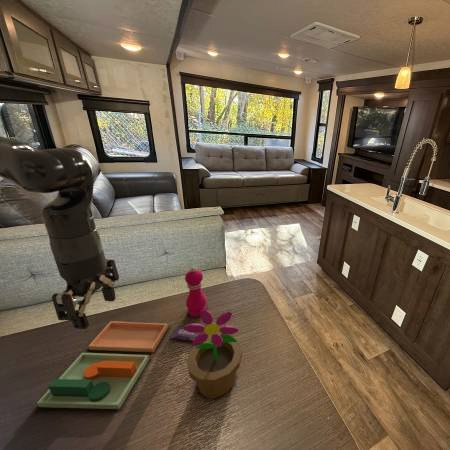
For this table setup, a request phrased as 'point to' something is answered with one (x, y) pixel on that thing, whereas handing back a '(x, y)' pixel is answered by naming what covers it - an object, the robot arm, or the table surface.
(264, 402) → the table surface
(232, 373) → the flowerpot
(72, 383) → the green spoon
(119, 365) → the orange spoon
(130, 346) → the orange tray
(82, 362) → the green tray
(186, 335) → the snack package
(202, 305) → the pepper mill
